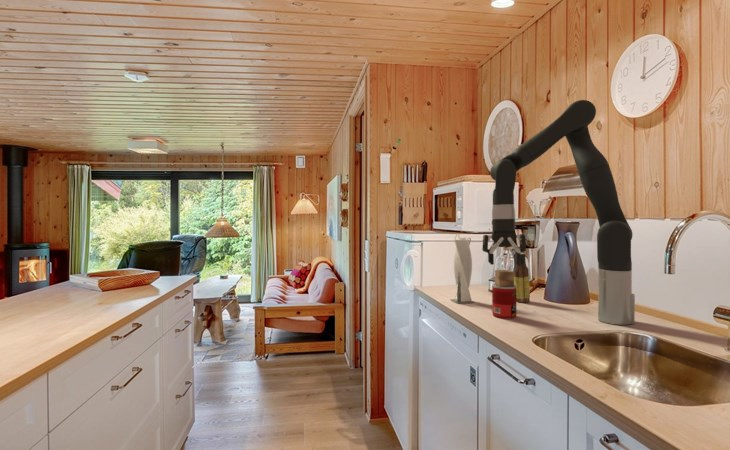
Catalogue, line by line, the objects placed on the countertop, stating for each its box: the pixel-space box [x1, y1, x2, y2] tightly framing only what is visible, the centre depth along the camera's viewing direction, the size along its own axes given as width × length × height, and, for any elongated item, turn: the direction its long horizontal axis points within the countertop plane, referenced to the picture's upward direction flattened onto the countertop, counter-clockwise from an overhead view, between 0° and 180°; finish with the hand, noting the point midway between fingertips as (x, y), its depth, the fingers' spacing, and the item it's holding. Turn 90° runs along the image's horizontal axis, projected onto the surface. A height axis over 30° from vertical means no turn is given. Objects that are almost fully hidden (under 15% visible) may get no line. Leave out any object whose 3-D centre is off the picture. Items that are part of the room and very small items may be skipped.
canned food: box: [491, 283, 517, 320], centre depth 135 cm, size 8×8×11 cm
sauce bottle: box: [512, 252, 531, 304], centre depth 158 cm, size 7×6×20 cm
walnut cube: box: [494, 269, 514, 286], centre depth 135 cm, size 5×5×5 cm
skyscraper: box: [449, 233, 475, 305], centre depth 159 cm, size 8×8×28 cm
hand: (504, 264), depth 135 cm, fingers open, 8 cm apart
